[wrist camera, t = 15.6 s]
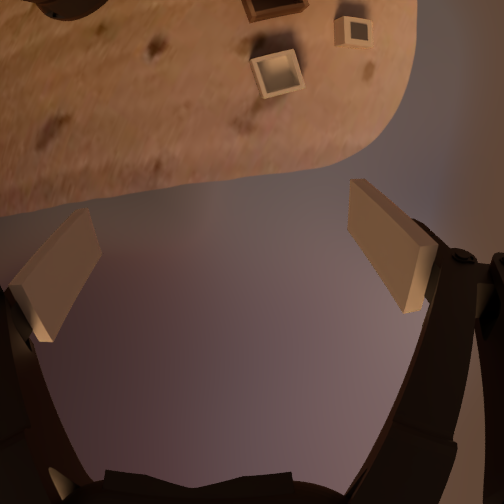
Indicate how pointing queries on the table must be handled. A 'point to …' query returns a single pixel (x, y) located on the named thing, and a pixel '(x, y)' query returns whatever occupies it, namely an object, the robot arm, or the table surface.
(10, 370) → the robot arm
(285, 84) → the beige tub
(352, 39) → the cream boxy hollow piece
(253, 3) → the walnut bin
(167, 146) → the table surface
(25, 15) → the table surface
